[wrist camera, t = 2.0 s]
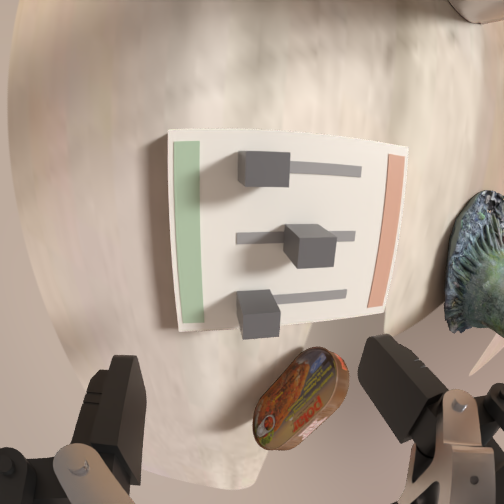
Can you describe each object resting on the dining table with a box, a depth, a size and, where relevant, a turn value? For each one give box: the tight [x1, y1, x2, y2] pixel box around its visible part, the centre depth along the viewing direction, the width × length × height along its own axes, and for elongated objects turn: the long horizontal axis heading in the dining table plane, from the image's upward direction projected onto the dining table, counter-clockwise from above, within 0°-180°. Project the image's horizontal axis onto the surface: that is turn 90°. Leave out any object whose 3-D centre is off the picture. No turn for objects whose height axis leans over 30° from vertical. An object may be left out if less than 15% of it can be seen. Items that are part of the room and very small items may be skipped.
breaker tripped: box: [283, 224, 337, 269], centre depth 24 cm, size 3×2×4 cm
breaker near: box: [238, 151, 291, 187], centre depth 21 cm, size 3×2×4 cm
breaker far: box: [237, 289, 281, 340], centre depth 25 cm, size 3×2×4 cm
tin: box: [253, 347, 349, 450], centre depth 31 cm, size 15×3×8 cm, turn 147°
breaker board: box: [168, 128, 409, 332], centre depth 27 cm, size 22×18×3 cm
